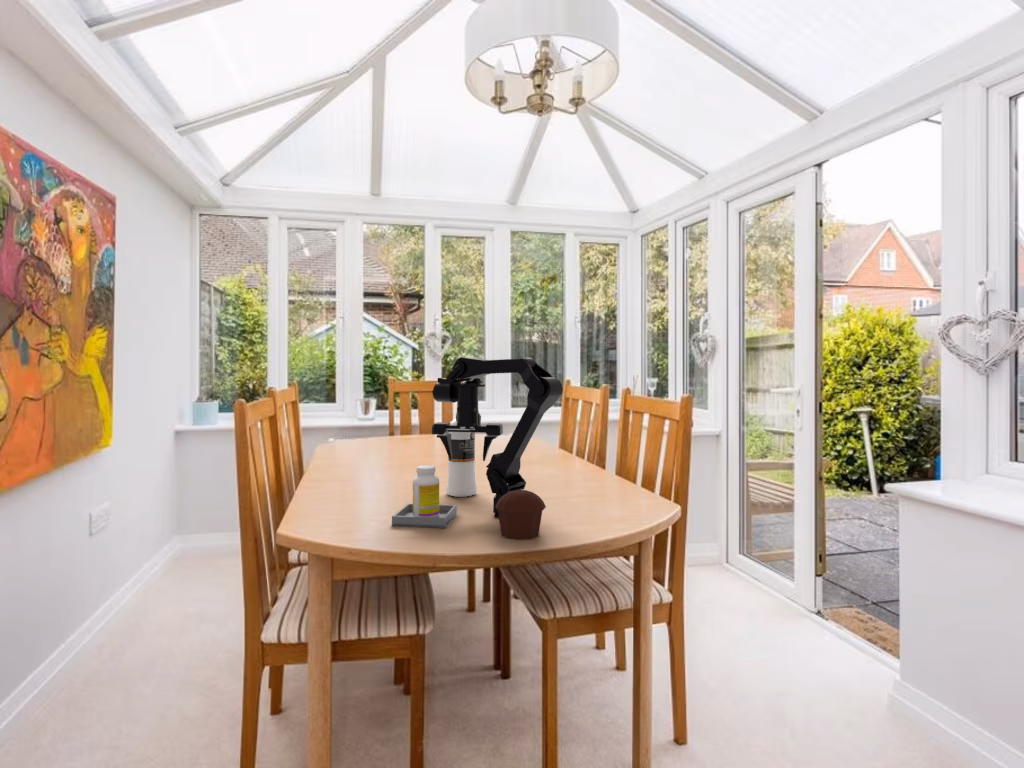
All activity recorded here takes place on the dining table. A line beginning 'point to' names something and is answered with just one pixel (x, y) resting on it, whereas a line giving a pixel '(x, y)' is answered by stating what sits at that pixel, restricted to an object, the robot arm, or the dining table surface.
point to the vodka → (461, 464)
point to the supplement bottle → (426, 492)
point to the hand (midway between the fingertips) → (467, 460)
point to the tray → (408, 520)
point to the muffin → (520, 514)
